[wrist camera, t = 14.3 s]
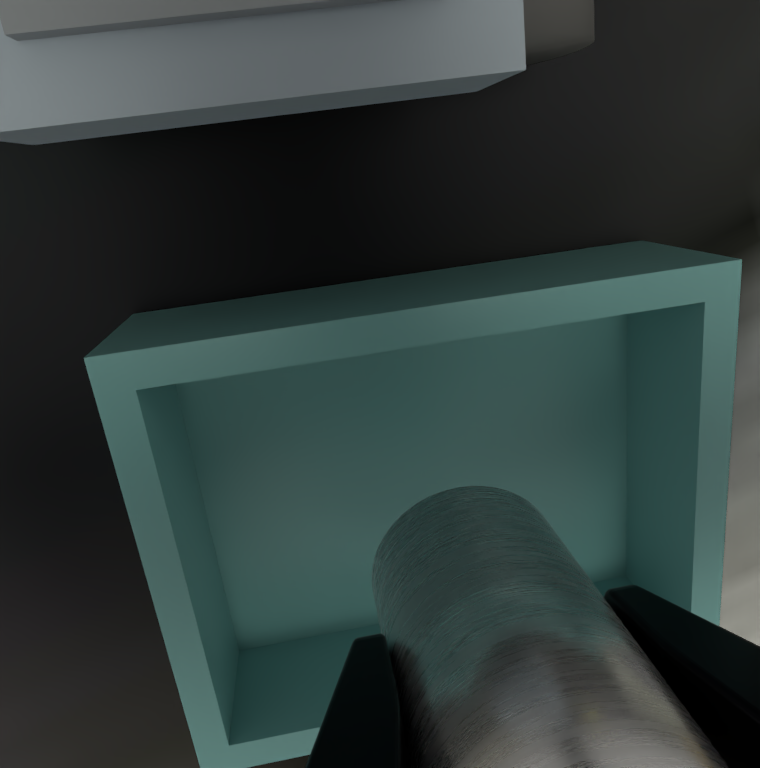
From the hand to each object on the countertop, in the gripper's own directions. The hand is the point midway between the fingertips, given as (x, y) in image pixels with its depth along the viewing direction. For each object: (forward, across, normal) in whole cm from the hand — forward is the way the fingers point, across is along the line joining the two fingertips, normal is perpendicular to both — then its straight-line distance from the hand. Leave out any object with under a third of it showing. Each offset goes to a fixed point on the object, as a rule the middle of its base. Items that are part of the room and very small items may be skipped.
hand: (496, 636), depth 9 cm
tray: (+6, 0, 0) cm, 6 cm away
